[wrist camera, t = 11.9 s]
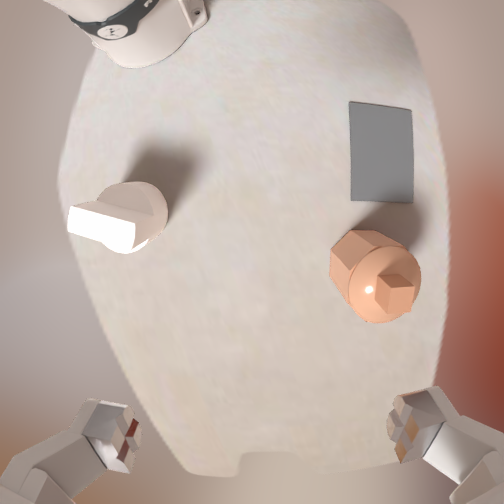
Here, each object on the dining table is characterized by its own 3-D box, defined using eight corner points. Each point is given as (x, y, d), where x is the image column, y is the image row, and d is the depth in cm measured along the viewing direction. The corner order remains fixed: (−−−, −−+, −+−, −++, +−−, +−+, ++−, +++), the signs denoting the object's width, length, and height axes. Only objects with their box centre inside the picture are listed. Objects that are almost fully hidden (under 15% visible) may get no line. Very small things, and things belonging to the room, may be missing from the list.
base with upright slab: (108, 234, 42) (64, 255, 30) (118, 175, 39) (73, 179, 28) (161, 249, 42) (129, 277, 30) (174, 188, 40) (142, 195, 28)
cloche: (331, 229, 41) (364, 257, 27) (391, 229, 41) (443, 255, 27) (327, 293, 43) (354, 343, 30) (385, 290, 43) (428, 334, 29)
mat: (348, 102, 36) (349, 102, 36) (410, 111, 36) (411, 110, 35) (350, 200, 40) (351, 200, 39) (411, 202, 39) (412, 203, 39)
